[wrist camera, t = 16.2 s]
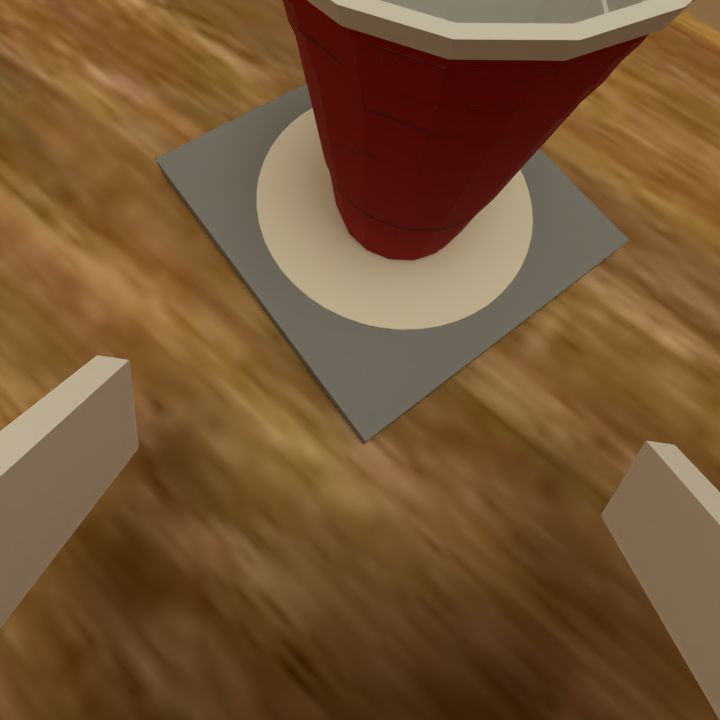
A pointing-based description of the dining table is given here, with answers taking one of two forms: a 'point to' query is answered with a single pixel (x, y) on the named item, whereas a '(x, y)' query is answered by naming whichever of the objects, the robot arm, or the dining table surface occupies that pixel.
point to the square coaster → (378, 261)
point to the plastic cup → (449, 99)
